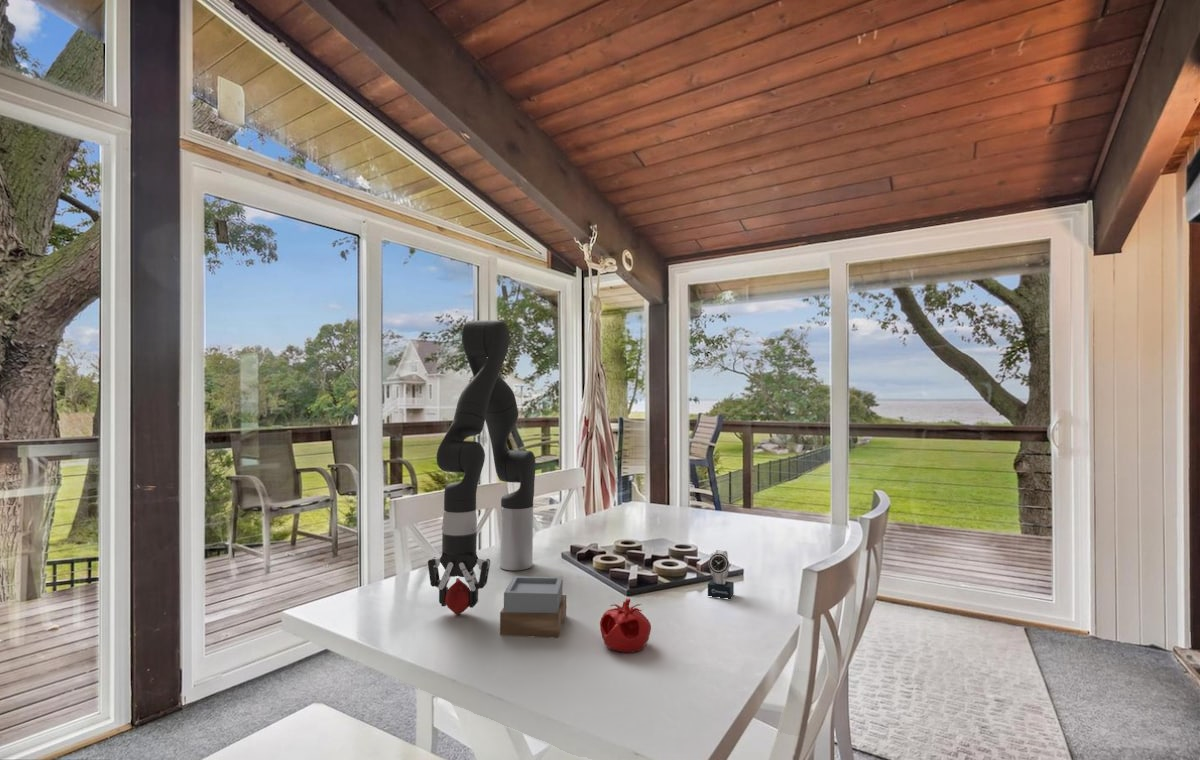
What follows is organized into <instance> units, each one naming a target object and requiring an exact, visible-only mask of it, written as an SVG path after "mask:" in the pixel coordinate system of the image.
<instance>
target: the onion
mask: <svg viewBox="0 0 1200 760" xmlns="http://www.w3.org/2000/svg"><path fill="white" fill-rule="evenodd" d="M470 591H471V589H470V587H469V585H467V584H466V583H465V582H463V581H462V580H461V579H460V577H456V580H455V582H454V583H453V584H452V585H450V587H448V591H447V593H446V596H445V602H446V607H447V608H448V609H449V610H450V611H451V612H453V614H455V615H457V616H459V615H461V614H462V613H463V612H465V611H466V610H467V609H468V608H470V607H469V604H470Z"/></svg>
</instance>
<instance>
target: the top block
mask: <svg viewBox="0 0 1200 760" xmlns="http://www.w3.org/2000/svg"><path fill="white" fill-rule="evenodd" d="M562 595H563V576H519V575H517V576H513V577H512V578H511V580H510V582H509V583H508V585H507V587H505V590H504V591H503V608H504V612H511V613H557V612H558V609H559V605H560V602H561V598H562Z"/></svg>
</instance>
